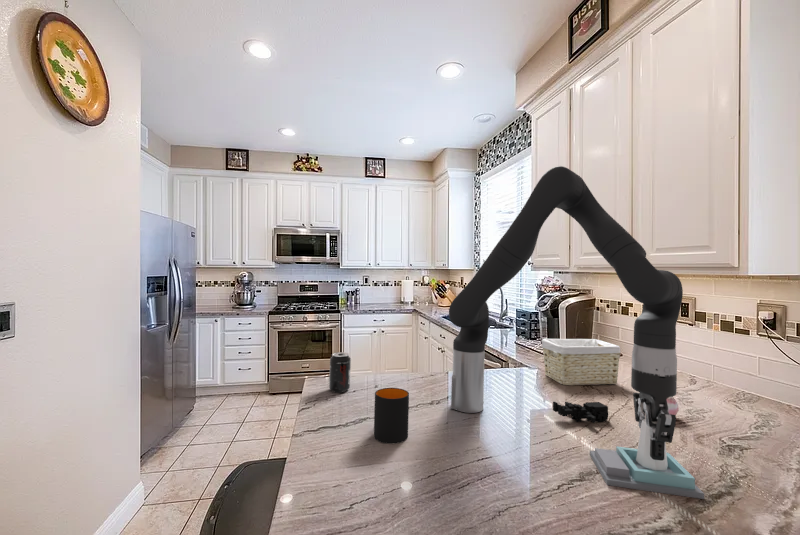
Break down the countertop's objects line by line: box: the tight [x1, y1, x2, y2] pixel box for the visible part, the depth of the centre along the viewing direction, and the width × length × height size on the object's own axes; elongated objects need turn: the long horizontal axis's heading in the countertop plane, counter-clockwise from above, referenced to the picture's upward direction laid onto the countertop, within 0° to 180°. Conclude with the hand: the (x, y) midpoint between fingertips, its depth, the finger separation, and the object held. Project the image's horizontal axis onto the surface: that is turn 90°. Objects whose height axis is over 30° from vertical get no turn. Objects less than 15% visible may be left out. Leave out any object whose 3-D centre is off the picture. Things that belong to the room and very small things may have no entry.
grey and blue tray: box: [589, 446, 705, 500], centre depth 74 cm, size 16×12×3 cm
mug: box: [373, 387, 410, 445], centre depth 90 cm, size 8×12×10 cm
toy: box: [552, 401, 609, 424], centre depth 101 cm, size 12×5×15 cm
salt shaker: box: [636, 413, 668, 471], centre depth 74 cm, size 5×5×11 cm
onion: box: [667, 396, 679, 417], centre depth 105 cm, size 8×8×7 cm
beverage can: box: [328, 351, 352, 394], centre depth 121 cm, size 7×7×12 cm
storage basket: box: [541, 337, 621, 386], centre depth 141 cm, size 24×16×15 cm
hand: (651, 452), depth 73 cm, fingers closed on salt shaker, 4 cm apart
